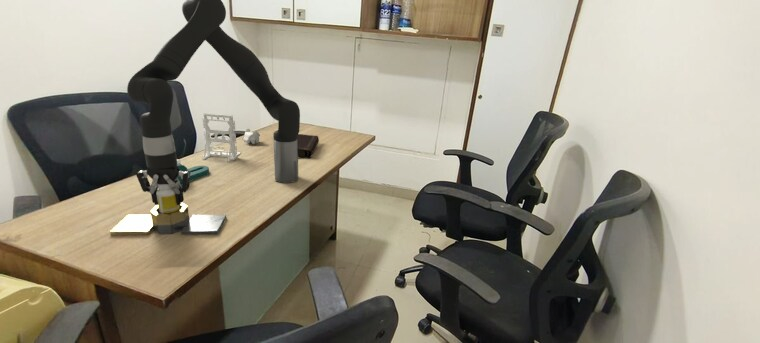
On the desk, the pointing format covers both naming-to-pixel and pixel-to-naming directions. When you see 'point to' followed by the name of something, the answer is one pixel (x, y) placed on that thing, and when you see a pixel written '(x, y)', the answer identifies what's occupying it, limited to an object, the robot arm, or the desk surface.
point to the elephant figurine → (251, 137)
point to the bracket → (193, 172)
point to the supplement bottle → (166, 199)
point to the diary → (306, 145)
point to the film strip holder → (232, 140)
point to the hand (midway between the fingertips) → (168, 203)
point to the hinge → (169, 223)
